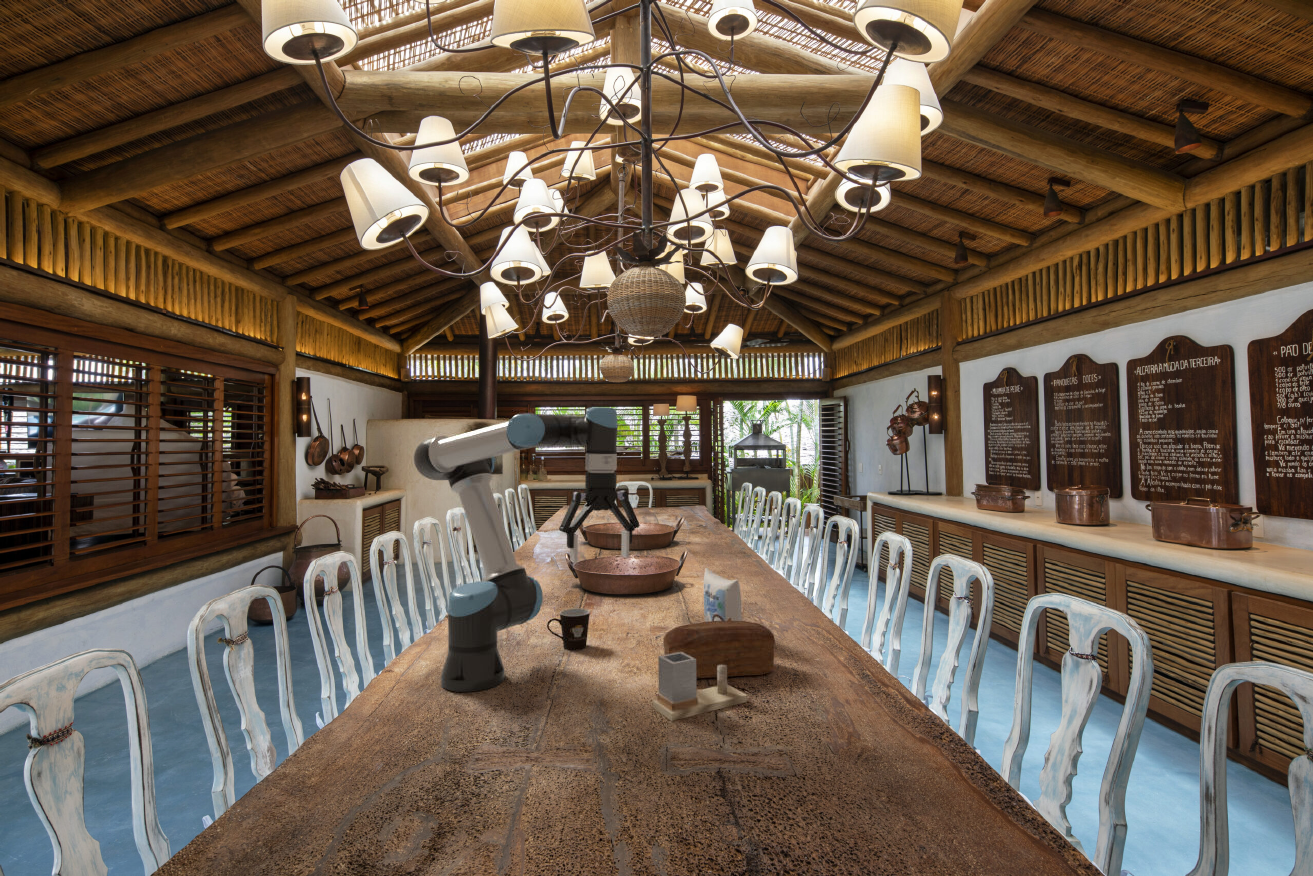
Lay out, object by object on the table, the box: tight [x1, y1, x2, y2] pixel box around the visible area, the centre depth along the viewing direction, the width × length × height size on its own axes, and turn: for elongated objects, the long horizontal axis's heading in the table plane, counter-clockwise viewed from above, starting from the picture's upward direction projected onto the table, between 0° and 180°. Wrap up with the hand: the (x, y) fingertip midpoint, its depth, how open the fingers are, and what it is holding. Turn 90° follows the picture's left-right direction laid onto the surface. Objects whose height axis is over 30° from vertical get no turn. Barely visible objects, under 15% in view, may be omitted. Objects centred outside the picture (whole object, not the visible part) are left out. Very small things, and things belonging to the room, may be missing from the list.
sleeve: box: [657, 652, 698, 711], centre depth 143 cm, size 6×6×10 cm
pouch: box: [703, 567, 743, 622], centre depth 193 cm, size 8×19×20 cm, turn 20°
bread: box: [663, 620, 776, 680], centre depth 167 cm, size 14×28×12 cm, turn 100°
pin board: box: [652, 665, 748, 722], centre depth 146 cm, size 20×8×8 cm, turn 120°
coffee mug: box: [546, 608, 591, 652], centre depth 188 cm, size 12×9×10 cm
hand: (600, 559), depth 157 cm, fingers open, 13 cm apart
